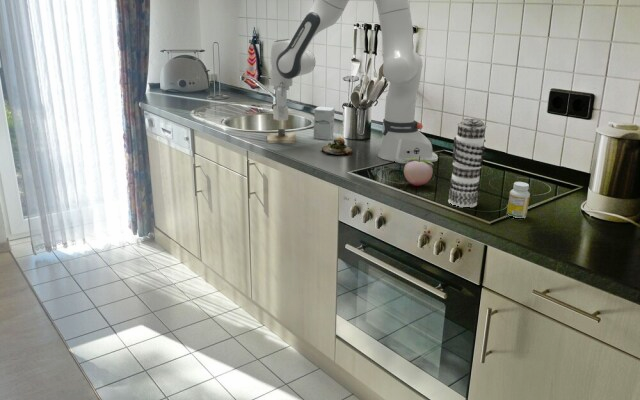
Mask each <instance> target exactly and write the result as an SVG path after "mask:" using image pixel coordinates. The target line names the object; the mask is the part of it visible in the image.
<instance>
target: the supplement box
mask: <svg viewBox="0 0 640 400" xmlns="http://www.w3.org/2000/svg"><path fill="white" fill-rule="evenodd" d="M335 110H336V109H335V107H328V106H317V107H316V108H314V116H313V118H314V119H313V139H318V140H319V139H320V140H327V141H330V140H331V139H332V138H333V137H334V128H335V127H334V126H335Z"/></svg>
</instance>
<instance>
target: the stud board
mask: <svg viewBox="0 0 640 400" xmlns="http://www.w3.org/2000/svg"><path fill="white" fill-rule="evenodd" d="M277 130H278V131H277V133H275V132H274V133H271V132H270V133H268V132H267V133H266V143H267V144H297V143H298V140H297V137H296V133H290V132H289V133H288V132H287V133H286V129H285V128H279V129H277Z"/></svg>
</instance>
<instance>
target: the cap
mask: <svg viewBox="0 0 640 400" xmlns="http://www.w3.org/2000/svg"><path fill="white" fill-rule="evenodd" d="M272 109H273V110H272V111H273V114H272V116H273V120H274V121H288V120H289V106H287V105H286V108H284V116H283V117H279V108H278V107H277V105H273V108H272Z"/></svg>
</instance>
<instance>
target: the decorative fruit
mask: <svg viewBox="0 0 640 400" xmlns="http://www.w3.org/2000/svg"><path fill="white" fill-rule="evenodd" d="M406 161H409V162H407V163H405V165H404V168H403V175H404V177H405V179H406V181H407V182H408V183H409V184H411V185H412V186H415V187H419V186H421V185H422V186H423V185H425V184H427V183H428V182H429V181H430V180H431V179H432V176H433V166H434V167H435V165H434V163H433V162H430V161H428V160H420V156H419V160H418V159H415V158H410V159H407V160H405V161H404V162H406Z"/></svg>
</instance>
